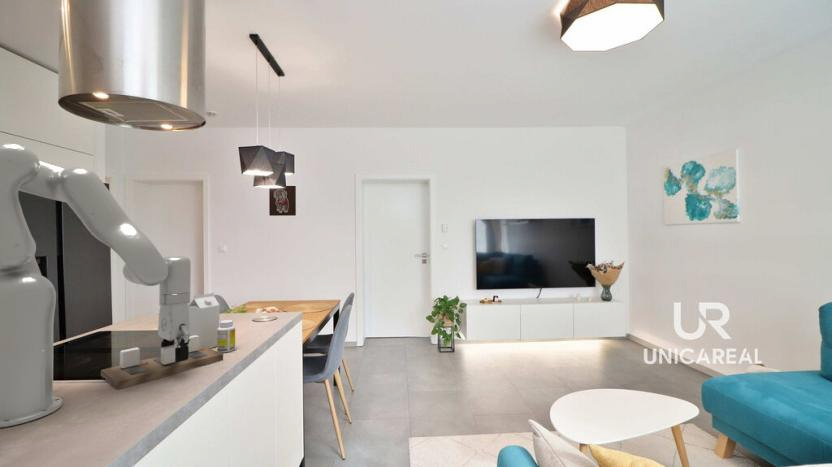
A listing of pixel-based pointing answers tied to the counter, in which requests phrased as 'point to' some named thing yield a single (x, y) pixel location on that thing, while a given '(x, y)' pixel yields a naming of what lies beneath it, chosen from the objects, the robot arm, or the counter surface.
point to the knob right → (193, 343)
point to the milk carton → (204, 319)
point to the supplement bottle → (226, 336)
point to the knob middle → (168, 354)
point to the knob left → (129, 357)
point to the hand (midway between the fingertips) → (174, 357)
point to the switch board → (158, 368)
